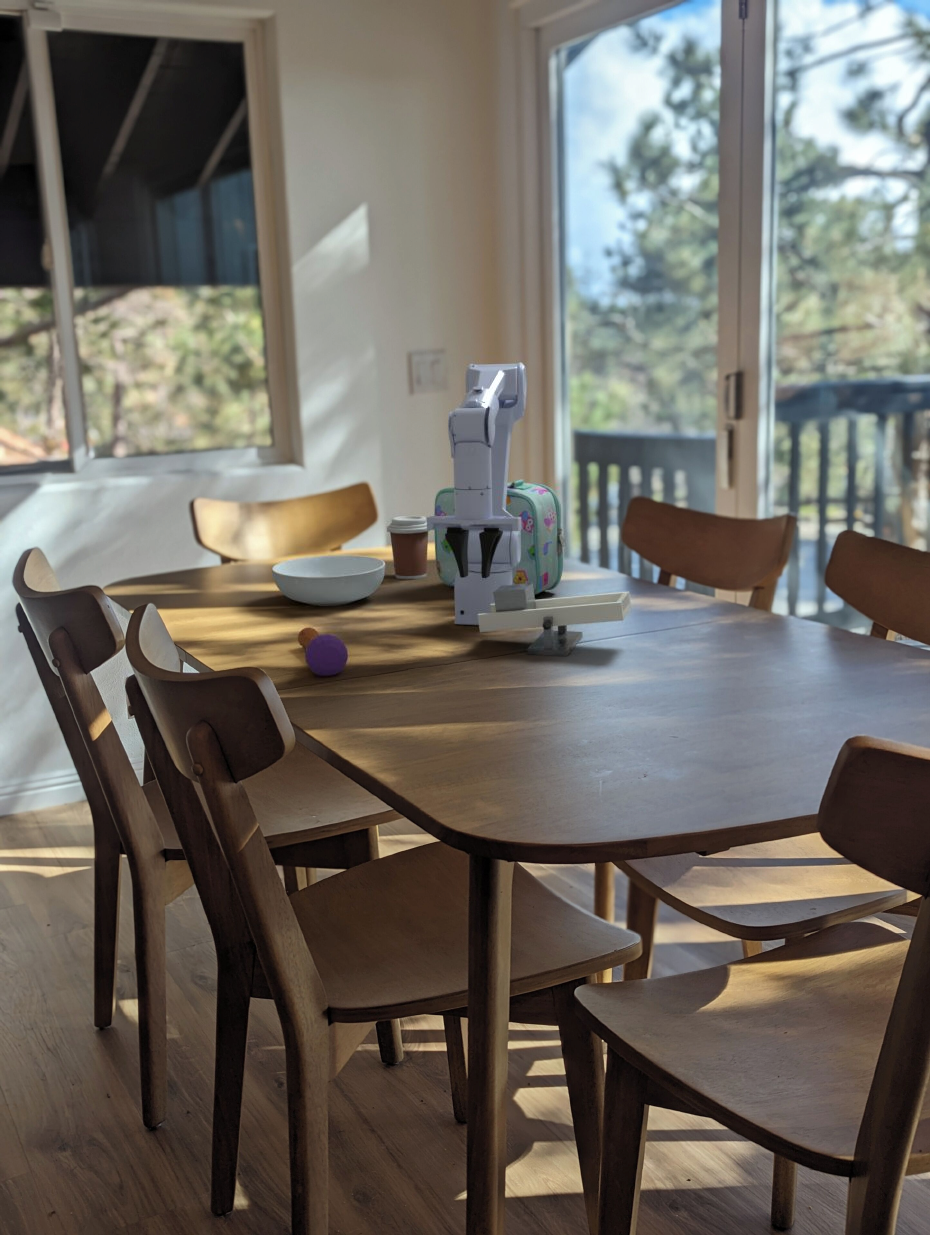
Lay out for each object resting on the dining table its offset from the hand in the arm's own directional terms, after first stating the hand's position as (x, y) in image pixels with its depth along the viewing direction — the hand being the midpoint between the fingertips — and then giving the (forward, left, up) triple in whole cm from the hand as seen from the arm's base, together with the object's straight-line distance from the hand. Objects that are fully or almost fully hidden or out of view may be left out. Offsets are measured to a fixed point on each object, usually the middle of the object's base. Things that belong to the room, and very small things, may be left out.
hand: (474, 576), depth 175 cm
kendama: (-20, -15, -11) cm, 27 cm away
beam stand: (+12, +1, -10) cm, 16 cm away
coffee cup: (-29, +51, -11) cm, 59 cm away
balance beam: (+12, +1, -6) cm, 14 cm away
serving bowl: (-36, +26, -11) cm, 45 cm away
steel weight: (+6, +1, -6) cm, 9 cm away
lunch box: (-7, +40, -11) cm, 41 cm away
